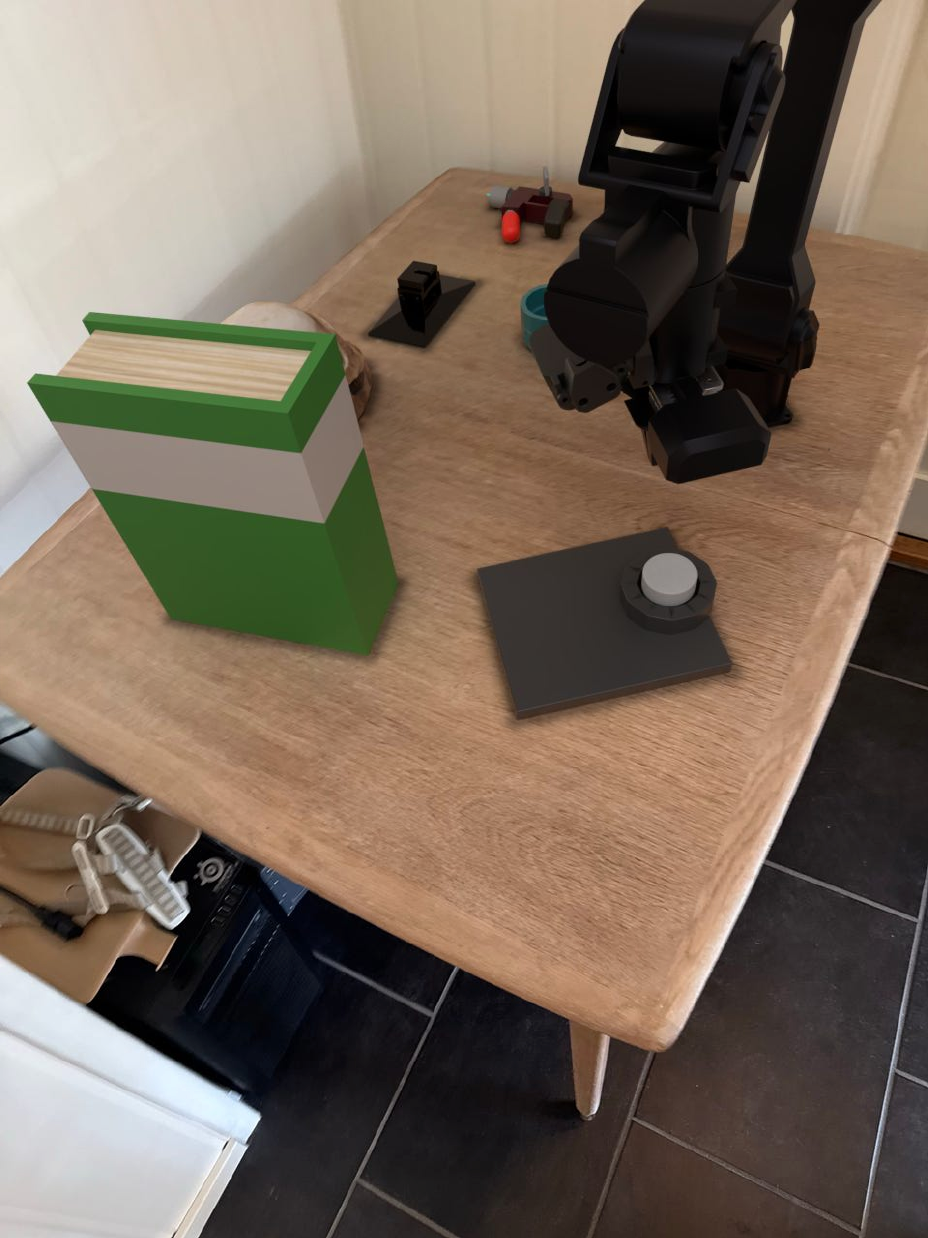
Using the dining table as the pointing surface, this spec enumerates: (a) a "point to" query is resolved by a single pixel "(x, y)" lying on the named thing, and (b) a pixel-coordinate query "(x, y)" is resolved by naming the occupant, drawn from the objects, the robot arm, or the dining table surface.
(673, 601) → the button
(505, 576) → the dark grey button base
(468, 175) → the dining table surface
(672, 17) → the robot arm
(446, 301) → the build plate
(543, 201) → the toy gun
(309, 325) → the coin bank
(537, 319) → the bowl
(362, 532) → the hardback book
